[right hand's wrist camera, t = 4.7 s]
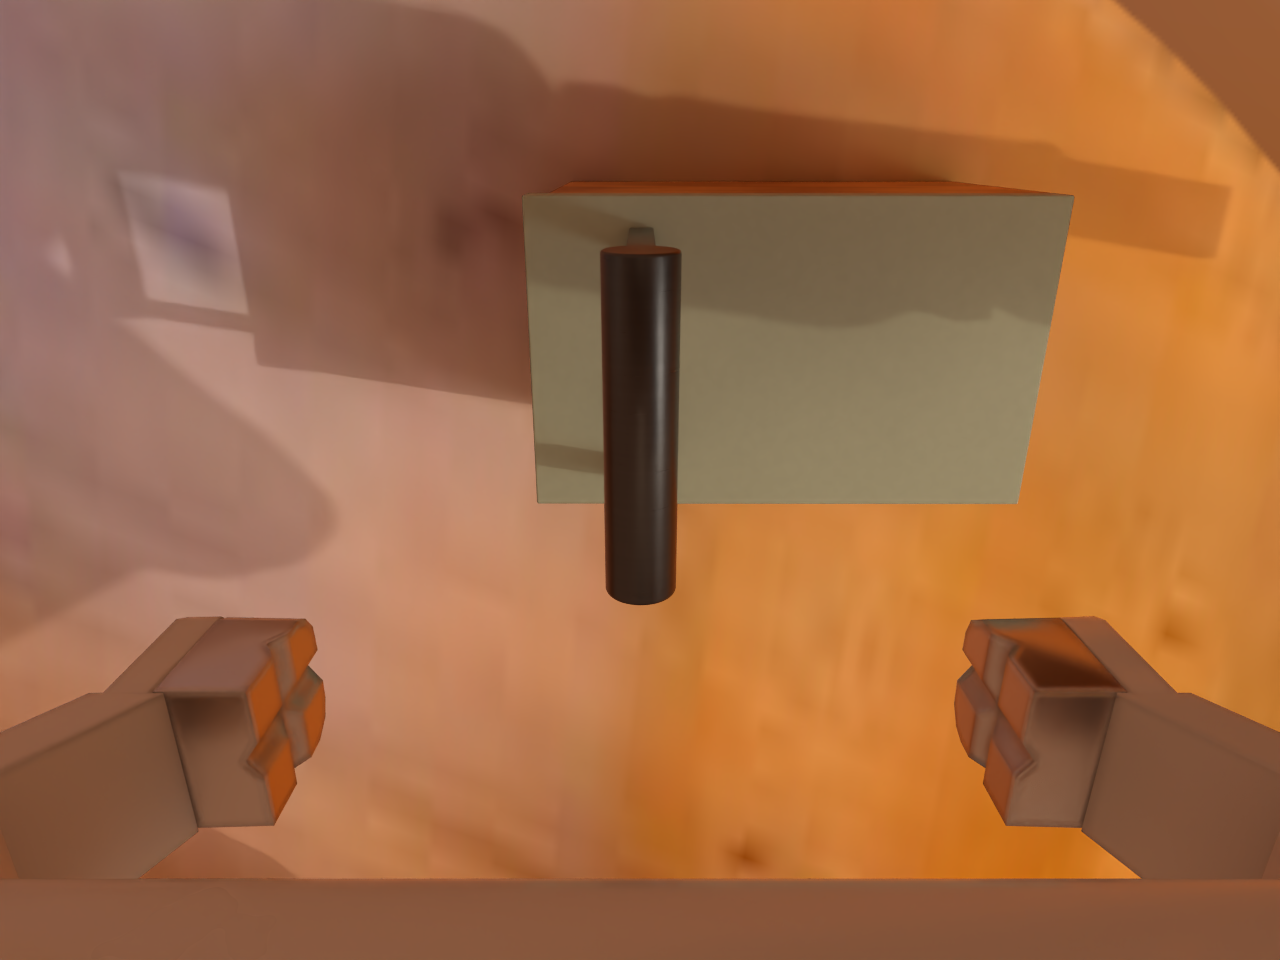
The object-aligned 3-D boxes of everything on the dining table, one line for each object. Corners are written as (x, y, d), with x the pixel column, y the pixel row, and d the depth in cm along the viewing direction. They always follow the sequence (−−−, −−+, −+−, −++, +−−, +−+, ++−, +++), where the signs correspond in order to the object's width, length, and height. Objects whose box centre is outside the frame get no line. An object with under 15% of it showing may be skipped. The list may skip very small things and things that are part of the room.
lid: (541, 489, 28) (499, 632, 20) (527, 193, 24) (469, 216, 16) (1002, 489, 28) (1152, 632, 20) (1054, 193, 24) (1264, 217, 16)
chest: (576, 412, 36) (558, 488, 28) (569, 181, 32) (546, 192, 24) (921, 412, 36) (1001, 488, 28) (952, 181, 32) (1053, 192, 24)
